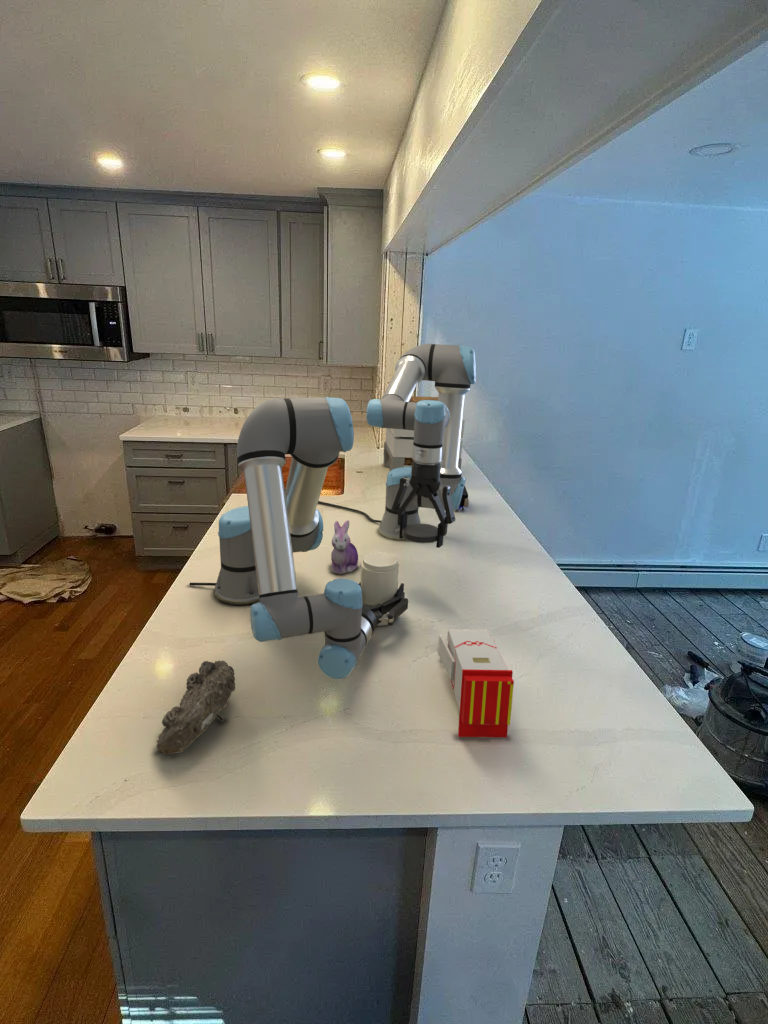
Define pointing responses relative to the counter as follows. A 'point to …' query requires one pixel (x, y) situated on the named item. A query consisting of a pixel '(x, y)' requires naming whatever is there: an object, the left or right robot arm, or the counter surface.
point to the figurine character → (464, 499)
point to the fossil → (197, 706)
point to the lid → (420, 533)
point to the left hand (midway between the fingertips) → (383, 584)
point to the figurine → (343, 550)
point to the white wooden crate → (406, 443)
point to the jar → (379, 578)
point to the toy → (478, 682)
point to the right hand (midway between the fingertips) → (420, 541)
